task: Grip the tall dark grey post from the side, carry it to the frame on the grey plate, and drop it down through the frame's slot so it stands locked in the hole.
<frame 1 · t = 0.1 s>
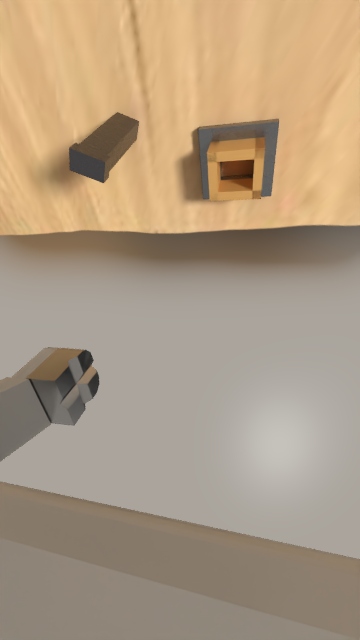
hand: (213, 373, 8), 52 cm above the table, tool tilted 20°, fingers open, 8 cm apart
frame on grey plate: (237, 161, 51), on the table
tall dark grey post: (127, 126, 50), on the table
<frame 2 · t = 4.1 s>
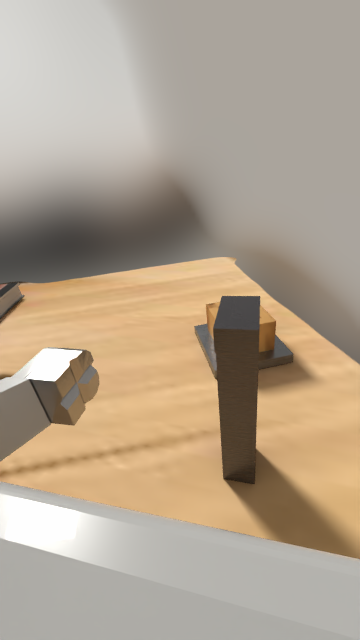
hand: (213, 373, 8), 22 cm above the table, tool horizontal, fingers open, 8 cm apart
frame on grey plate: (238, 346, 47), on the table
tall dark grey post: (240, 462, 29), on the table
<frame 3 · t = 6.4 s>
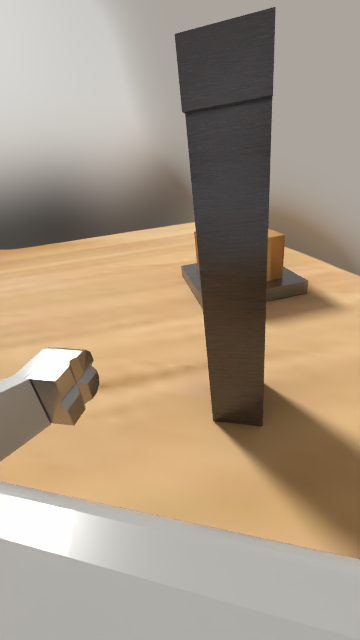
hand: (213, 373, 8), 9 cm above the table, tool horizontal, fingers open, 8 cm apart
frame on grey plate: (236, 283, 37), on the table
tall dark grey post: (239, 399, 19), on the table
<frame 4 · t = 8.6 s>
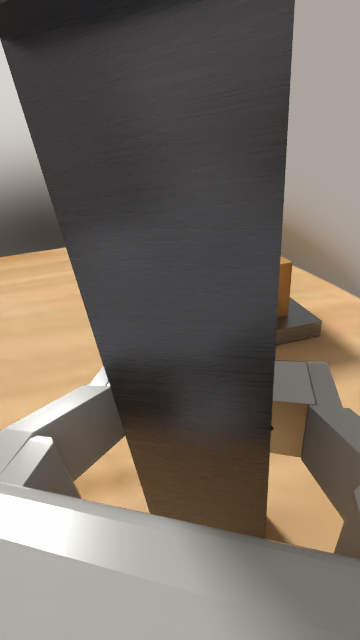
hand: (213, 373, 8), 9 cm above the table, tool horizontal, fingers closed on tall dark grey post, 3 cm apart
frame on grey plate: (230, 315, 30), on the table
tall dark grey post: (223, 550, 12), on the table, touching gripper
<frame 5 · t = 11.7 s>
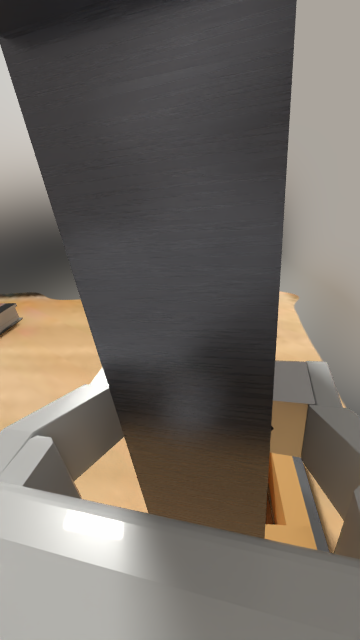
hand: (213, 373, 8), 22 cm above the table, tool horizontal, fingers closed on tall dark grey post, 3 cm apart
frame on grey plate: (243, 523, 24), on the table
tall dark grey post: (222, 551, 12), point 13 cm above the table, touching gripper
when the fingers open (13 cm above the table, at t = 14.7 s): tall dark grey post drops 4 cm, resting in frame on grey plate.
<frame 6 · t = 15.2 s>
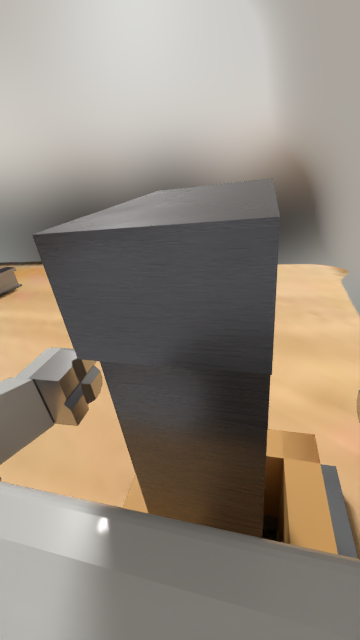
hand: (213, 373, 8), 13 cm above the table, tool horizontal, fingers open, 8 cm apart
frame on grey plate: (226, 588, 14), on the table
tall dark grey post: (226, 588, 14), resting in frame on grey plate
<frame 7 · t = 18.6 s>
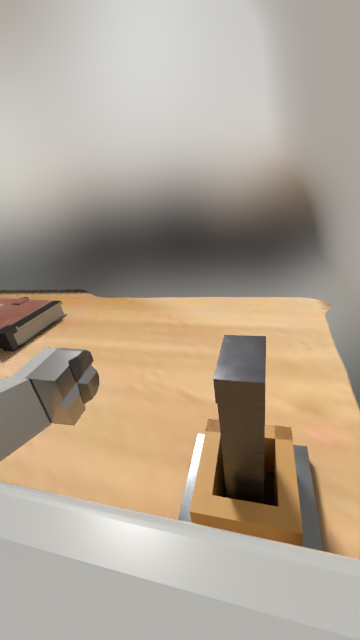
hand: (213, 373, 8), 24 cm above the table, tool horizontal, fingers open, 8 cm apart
book: (7, 329, 73), on the table
frame on grey plate: (247, 507, 27), on the table
tall dark grey post: (247, 507, 27), resting in frame on grey plate
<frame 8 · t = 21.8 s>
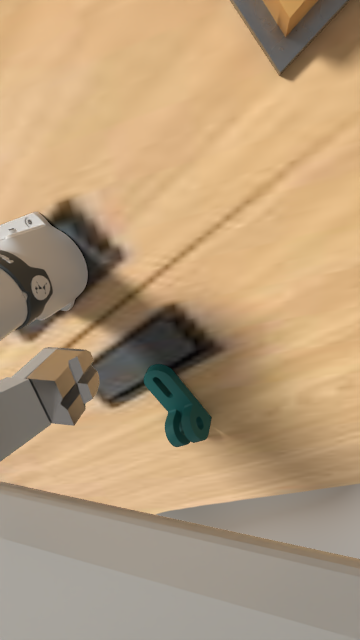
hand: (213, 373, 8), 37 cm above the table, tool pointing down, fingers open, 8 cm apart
bracket: (177, 393, 63), on the table
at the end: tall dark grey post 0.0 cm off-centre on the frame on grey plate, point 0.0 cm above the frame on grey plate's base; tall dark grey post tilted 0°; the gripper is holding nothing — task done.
